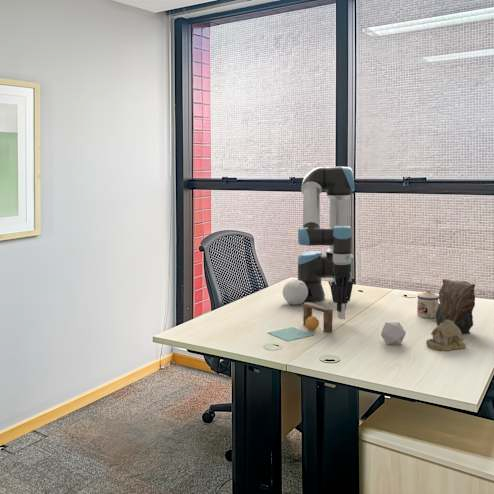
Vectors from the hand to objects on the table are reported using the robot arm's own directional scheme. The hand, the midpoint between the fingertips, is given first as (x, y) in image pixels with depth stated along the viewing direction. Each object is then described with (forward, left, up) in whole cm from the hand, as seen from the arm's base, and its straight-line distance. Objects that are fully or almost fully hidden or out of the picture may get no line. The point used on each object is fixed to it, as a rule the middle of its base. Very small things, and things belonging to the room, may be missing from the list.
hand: (341, 318), depth 235 cm
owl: (+34, +27, -2) cm, 43 cm away
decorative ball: (-36, +4, -2) cm, 36 cm away
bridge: (0, -13, -2) cm, 13 cm away
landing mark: (0, -27, -2) cm, 27 cm away
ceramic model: (+44, +10, -2) cm, 45 cm away
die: (+31, -3, -2) cm, 31 cm away
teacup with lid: (+15, +38, -2) cm, 41 cm away
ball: (0, -16, +1) cm, 16 cm away
